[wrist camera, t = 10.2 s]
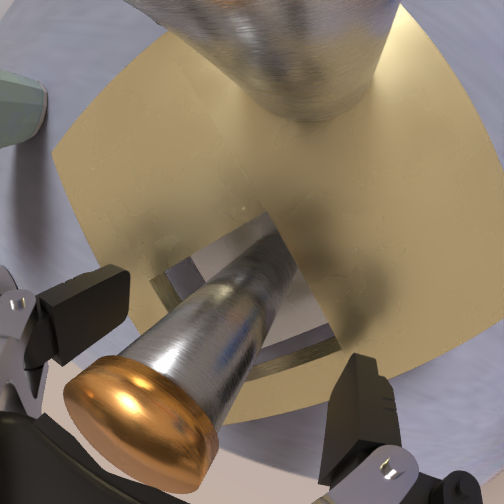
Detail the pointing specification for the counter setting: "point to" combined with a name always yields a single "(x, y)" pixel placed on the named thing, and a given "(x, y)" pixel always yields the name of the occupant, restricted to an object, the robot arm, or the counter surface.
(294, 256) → the tan and silver stand
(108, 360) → the copper-capped metal rod
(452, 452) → the counter surface
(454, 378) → the counter surface
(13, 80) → the disposable coffee cup
